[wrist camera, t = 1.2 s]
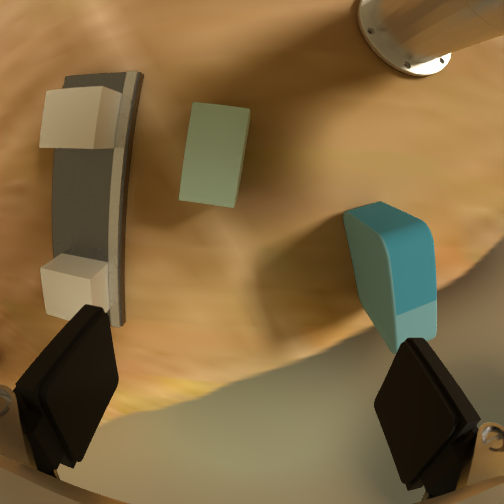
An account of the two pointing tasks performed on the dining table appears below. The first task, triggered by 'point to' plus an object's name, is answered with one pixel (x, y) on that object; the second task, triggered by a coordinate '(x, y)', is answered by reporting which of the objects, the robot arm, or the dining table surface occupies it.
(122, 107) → the rail plate
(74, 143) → the mounted modules
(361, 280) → the data package
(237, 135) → the module block
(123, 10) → the dining table surface
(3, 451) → the robot arm
